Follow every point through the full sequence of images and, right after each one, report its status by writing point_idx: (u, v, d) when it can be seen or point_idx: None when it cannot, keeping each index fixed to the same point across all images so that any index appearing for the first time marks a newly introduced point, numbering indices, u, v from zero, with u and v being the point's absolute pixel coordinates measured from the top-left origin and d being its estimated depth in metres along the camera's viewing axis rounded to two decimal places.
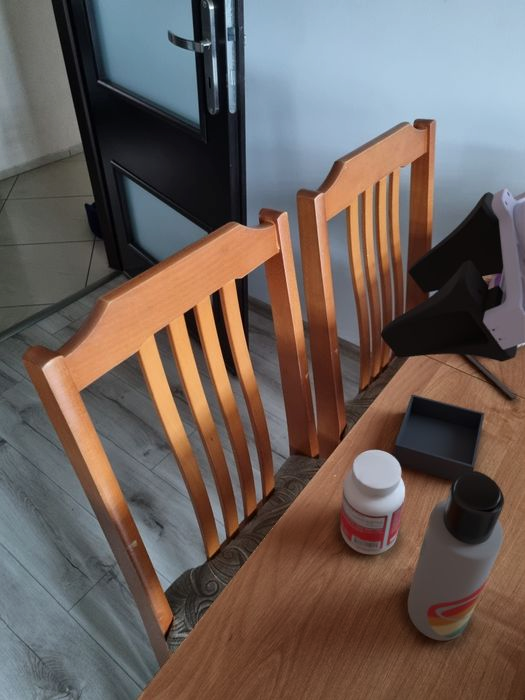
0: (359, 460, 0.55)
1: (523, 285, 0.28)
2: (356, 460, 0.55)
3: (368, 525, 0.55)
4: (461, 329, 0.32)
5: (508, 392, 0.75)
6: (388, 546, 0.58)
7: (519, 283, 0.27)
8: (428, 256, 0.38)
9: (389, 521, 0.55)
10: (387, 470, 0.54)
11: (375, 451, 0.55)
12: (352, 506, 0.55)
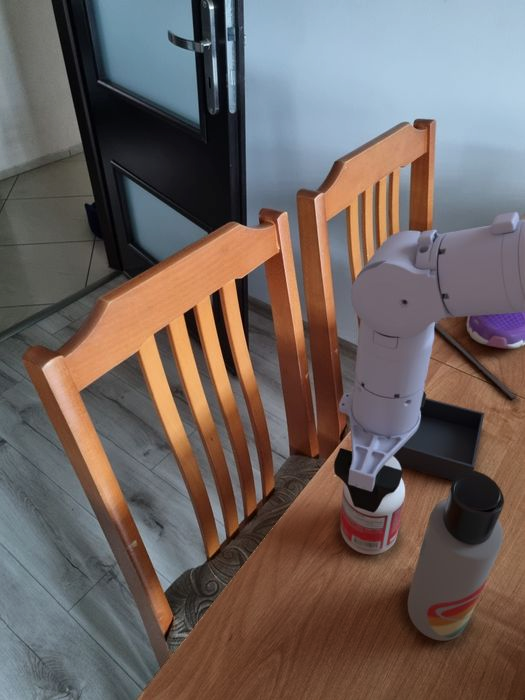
0: None
1: (361, 449, 0.46)
2: None
3: (368, 525, 0.55)
4: None
5: (508, 392, 0.75)
6: (388, 546, 0.58)
7: (352, 452, 0.45)
8: None
9: (389, 521, 0.55)
10: None
11: None
12: (352, 506, 0.55)
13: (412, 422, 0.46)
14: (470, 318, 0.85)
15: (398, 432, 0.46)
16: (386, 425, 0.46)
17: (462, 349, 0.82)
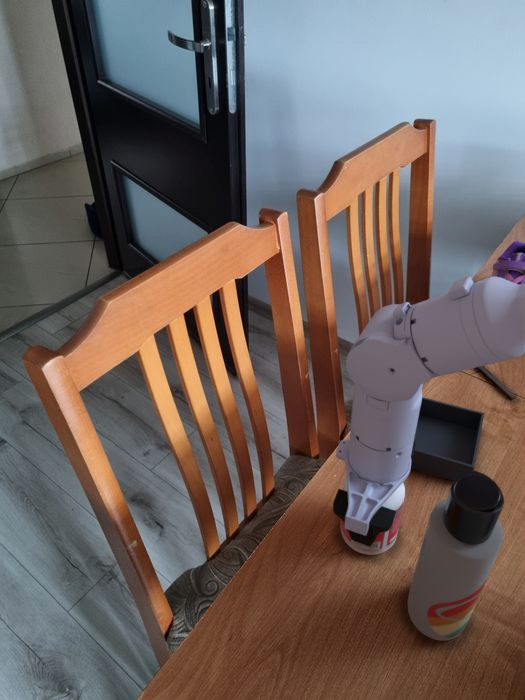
0: None
1: (356, 495, 0.50)
2: None
3: None
4: None
5: (508, 392, 0.75)
6: (388, 546, 0.58)
7: (348, 499, 0.49)
8: None
9: None
10: None
11: None
12: None
13: (403, 470, 0.51)
14: None
15: (390, 479, 0.50)
16: (379, 474, 0.50)
17: None
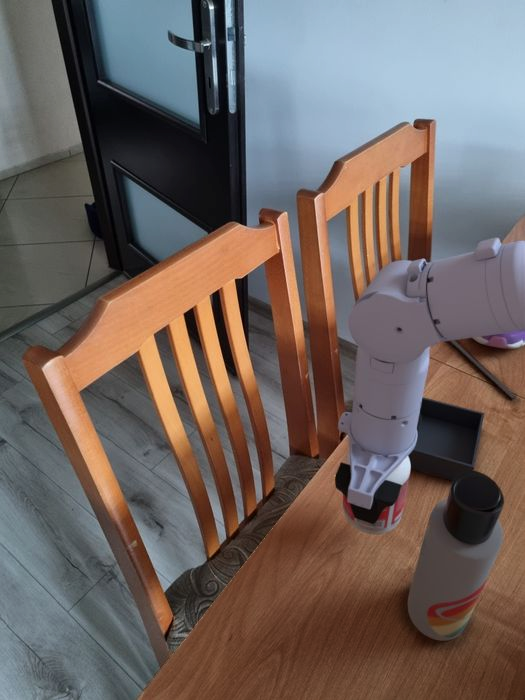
0: None
1: (360, 467, 0.47)
2: None
3: None
4: None
5: (508, 392, 0.75)
6: (393, 525, 0.56)
7: (351, 471, 0.47)
8: None
9: None
10: None
11: None
12: None
13: (409, 441, 0.48)
14: None
15: (395, 451, 0.48)
16: (383, 445, 0.47)
17: (462, 349, 0.82)
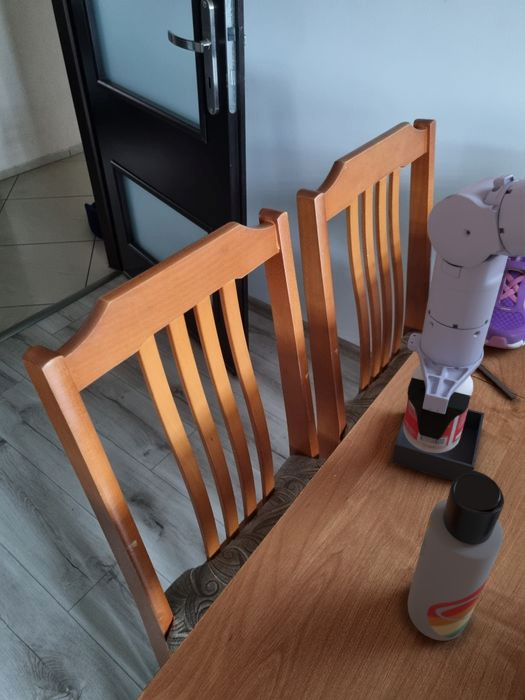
0: None
1: (433, 377, 0.51)
2: None
3: None
4: None
5: (508, 392, 0.75)
6: (453, 444, 0.59)
7: (426, 380, 0.51)
8: None
9: None
10: None
11: None
12: None
13: (478, 354, 0.52)
14: None
15: (465, 363, 0.52)
16: (455, 356, 0.51)
17: None
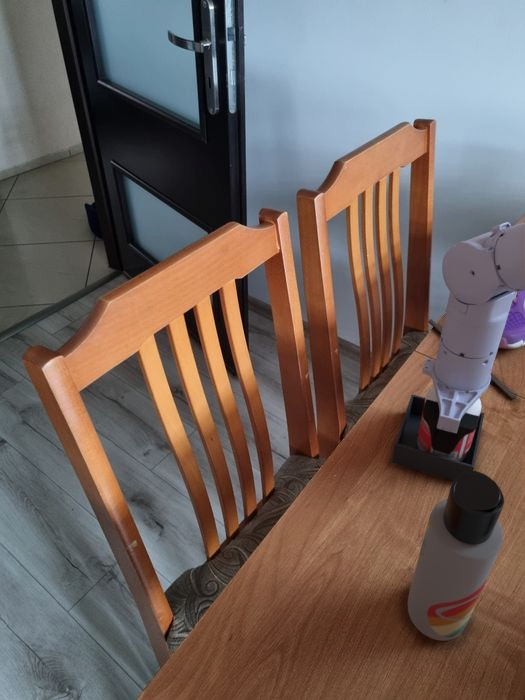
0: None
1: (446, 400, 0.57)
2: None
3: None
4: None
5: (508, 392, 0.75)
6: (463, 457, 0.66)
7: (440, 403, 0.57)
8: None
9: None
10: None
11: None
12: None
13: (486, 379, 0.58)
14: None
15: (475, 387, 0.58)
16: (466, 381, 0.57)
17: None
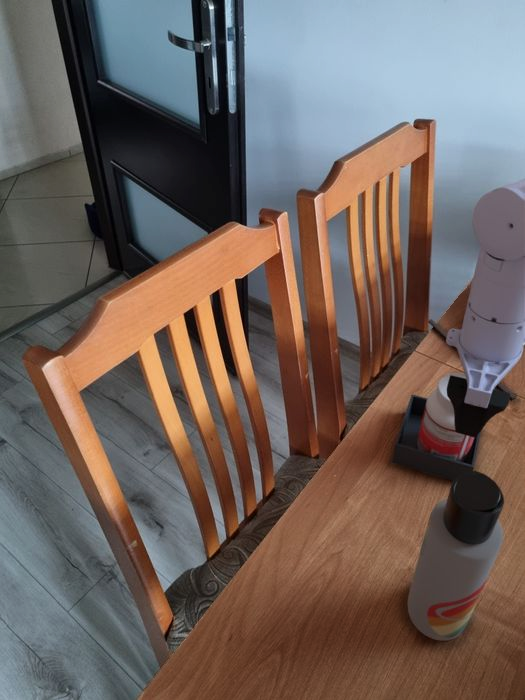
0: (443, 381, 0.61)
1: (475, 372, 0.51)
2: (440, 381, 0.62)
3: (449, 439, 0.62)
4: None
5: (508, 392, 0.75)
6: (462, 460, 0.66)
7: (468, 374, 0.51)
8: None
9: None
10: None
11: (457, 374, 0.62)
12: (436, 422, 0.62)
13: (518, 349, 0.52)
14: None
15: (506, 358, 0.52)
16: (497, 351, 0.51)
17: None
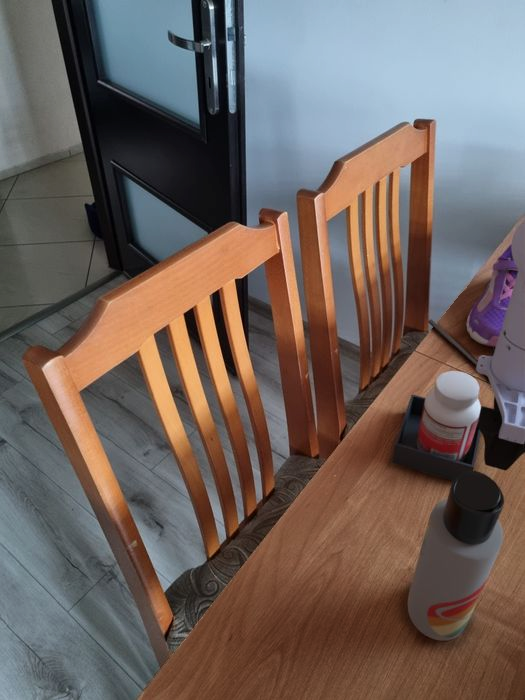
0: (441, 379, 0.62)
1: (509, 405, 0.48)
2: (438, 379, 0.62)
3: (448, 437, 0.63)
4: None
5: None
6: (462, 459, 0.66)
7: (502, 408, 0.48)
8: (495, 397, 0.58)
9: (467, 432, 0.62)
10: (467, 386, 0.61)
11: (454, 372, 0.63)
12: (434, 419, 0.62)
13: None
14: (470, 318, 0.85)
15: None
16: None
17: (462, 349, 0.82)
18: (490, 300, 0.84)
